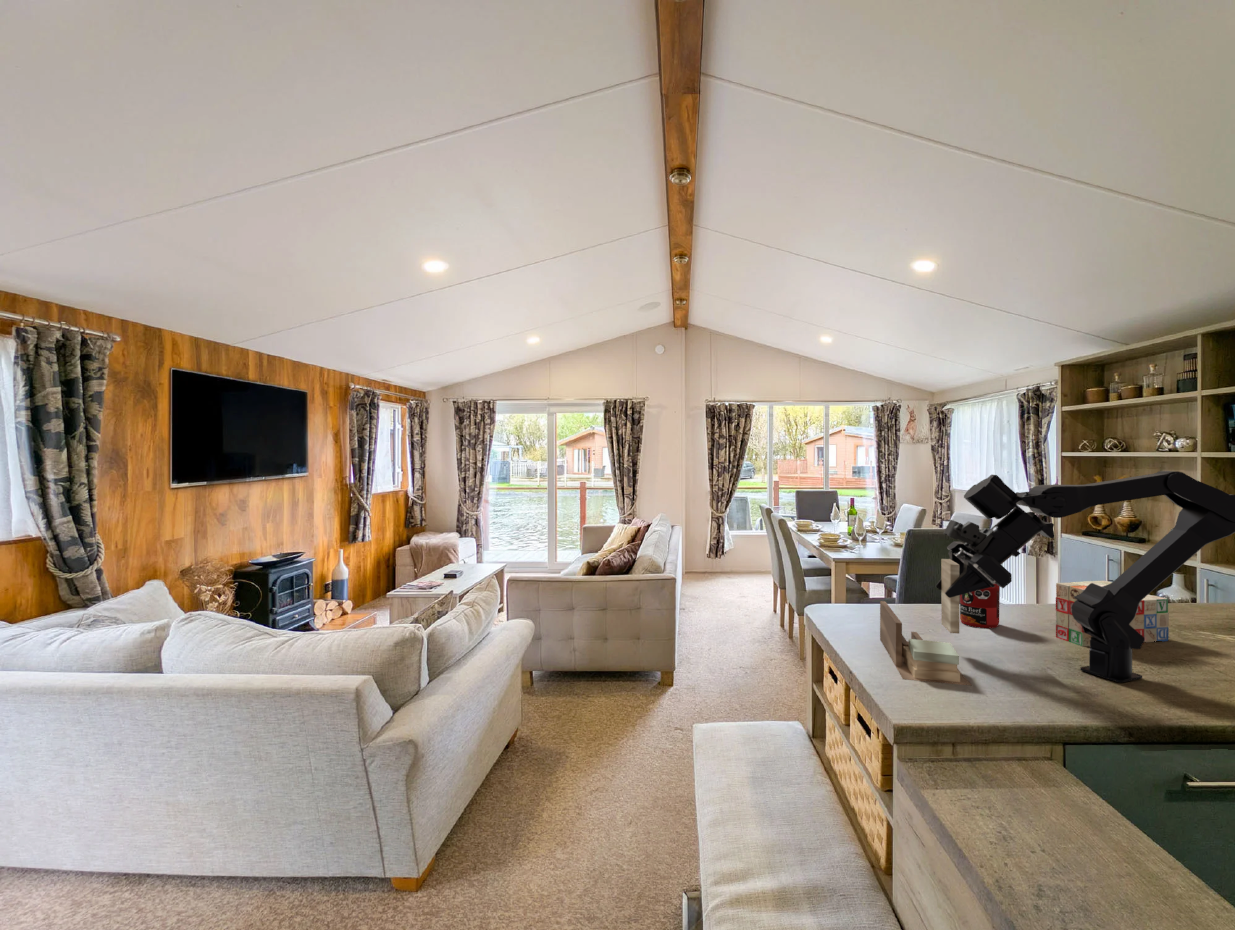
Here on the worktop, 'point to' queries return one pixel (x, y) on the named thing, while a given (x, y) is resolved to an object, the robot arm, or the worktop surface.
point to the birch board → (948, 604)
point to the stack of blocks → (1146, 622)
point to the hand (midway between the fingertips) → (942, 591)
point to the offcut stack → (932, 660)
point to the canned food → (981, 607)
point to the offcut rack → (901, 644)
